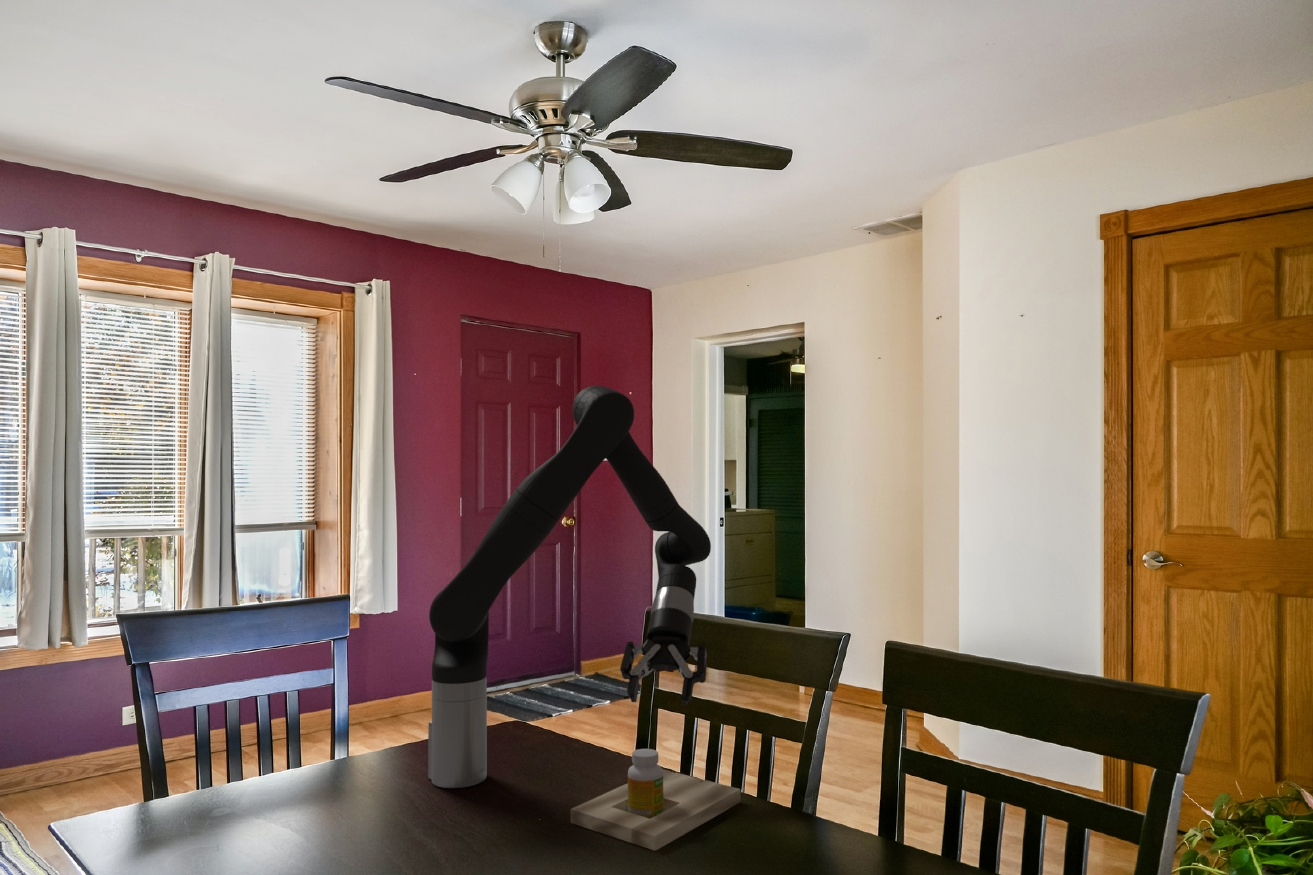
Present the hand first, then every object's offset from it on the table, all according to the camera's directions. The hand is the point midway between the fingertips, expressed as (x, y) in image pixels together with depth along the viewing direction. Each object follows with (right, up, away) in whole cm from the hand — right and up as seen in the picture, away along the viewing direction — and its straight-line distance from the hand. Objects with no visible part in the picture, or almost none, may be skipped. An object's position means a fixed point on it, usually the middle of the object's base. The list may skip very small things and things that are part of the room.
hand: (658, 701), depth 139 cm
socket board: (0, -15, -8) cm, 17 cm away
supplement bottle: (-2, -15, -10) cm, 18 cm away
